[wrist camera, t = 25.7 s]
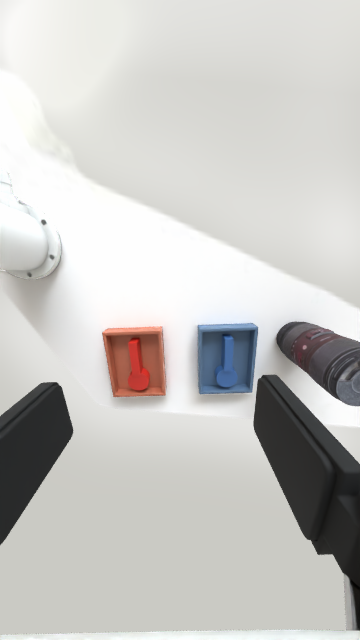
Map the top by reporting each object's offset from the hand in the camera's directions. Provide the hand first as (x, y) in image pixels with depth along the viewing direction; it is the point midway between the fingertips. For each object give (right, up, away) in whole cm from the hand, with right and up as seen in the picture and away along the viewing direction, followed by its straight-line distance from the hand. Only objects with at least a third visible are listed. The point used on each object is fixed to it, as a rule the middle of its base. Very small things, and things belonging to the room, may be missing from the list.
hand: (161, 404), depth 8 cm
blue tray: (+10, -4, +28) cm, 31 cm away
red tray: (-8, -5, +29) cm, 30 cm away
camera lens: (+24, +1, +27) cm, 37 cm away
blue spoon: (+11, -4, +28) cm, 30 cm away
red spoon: (-8, -4, +28) cm, 30 cm away
